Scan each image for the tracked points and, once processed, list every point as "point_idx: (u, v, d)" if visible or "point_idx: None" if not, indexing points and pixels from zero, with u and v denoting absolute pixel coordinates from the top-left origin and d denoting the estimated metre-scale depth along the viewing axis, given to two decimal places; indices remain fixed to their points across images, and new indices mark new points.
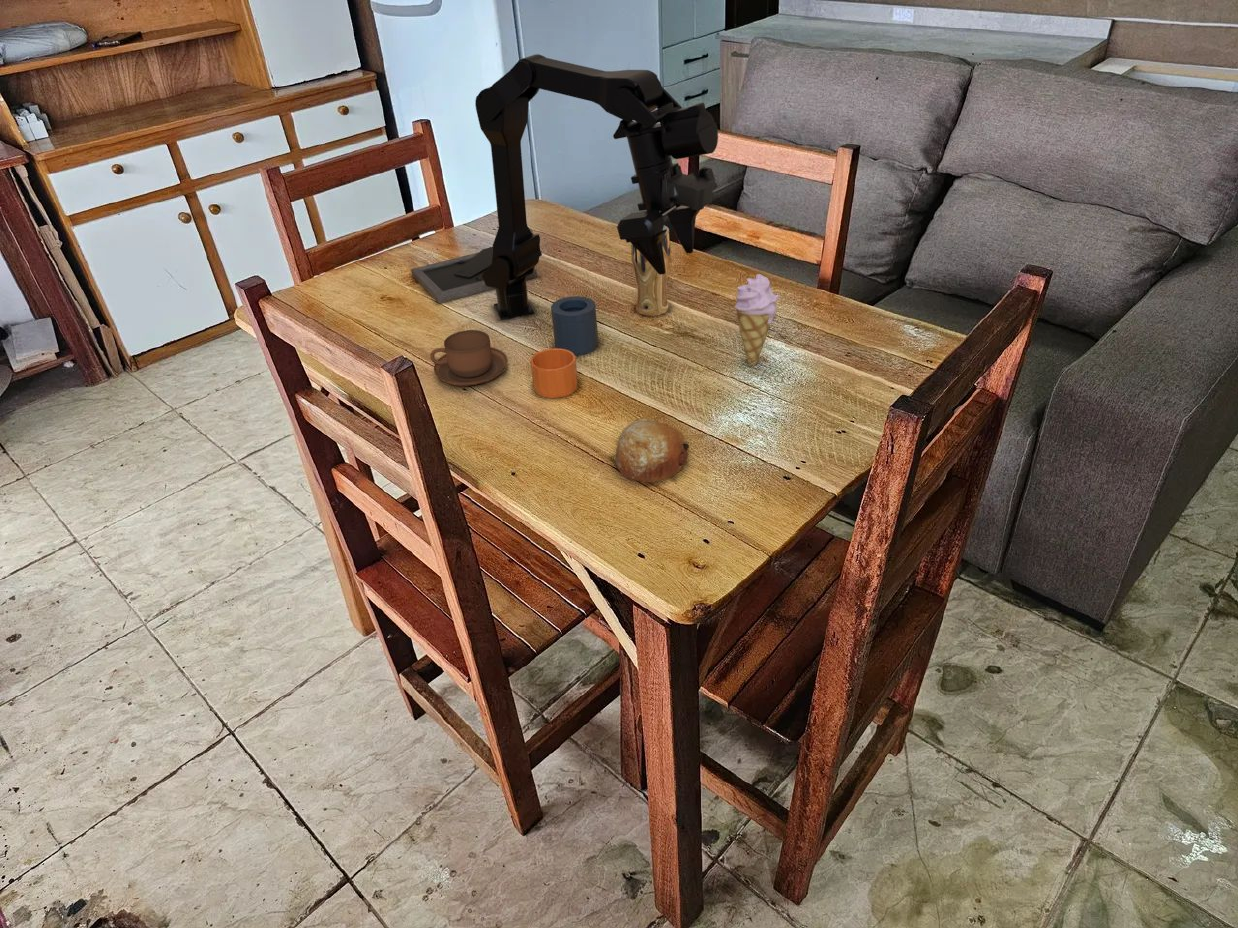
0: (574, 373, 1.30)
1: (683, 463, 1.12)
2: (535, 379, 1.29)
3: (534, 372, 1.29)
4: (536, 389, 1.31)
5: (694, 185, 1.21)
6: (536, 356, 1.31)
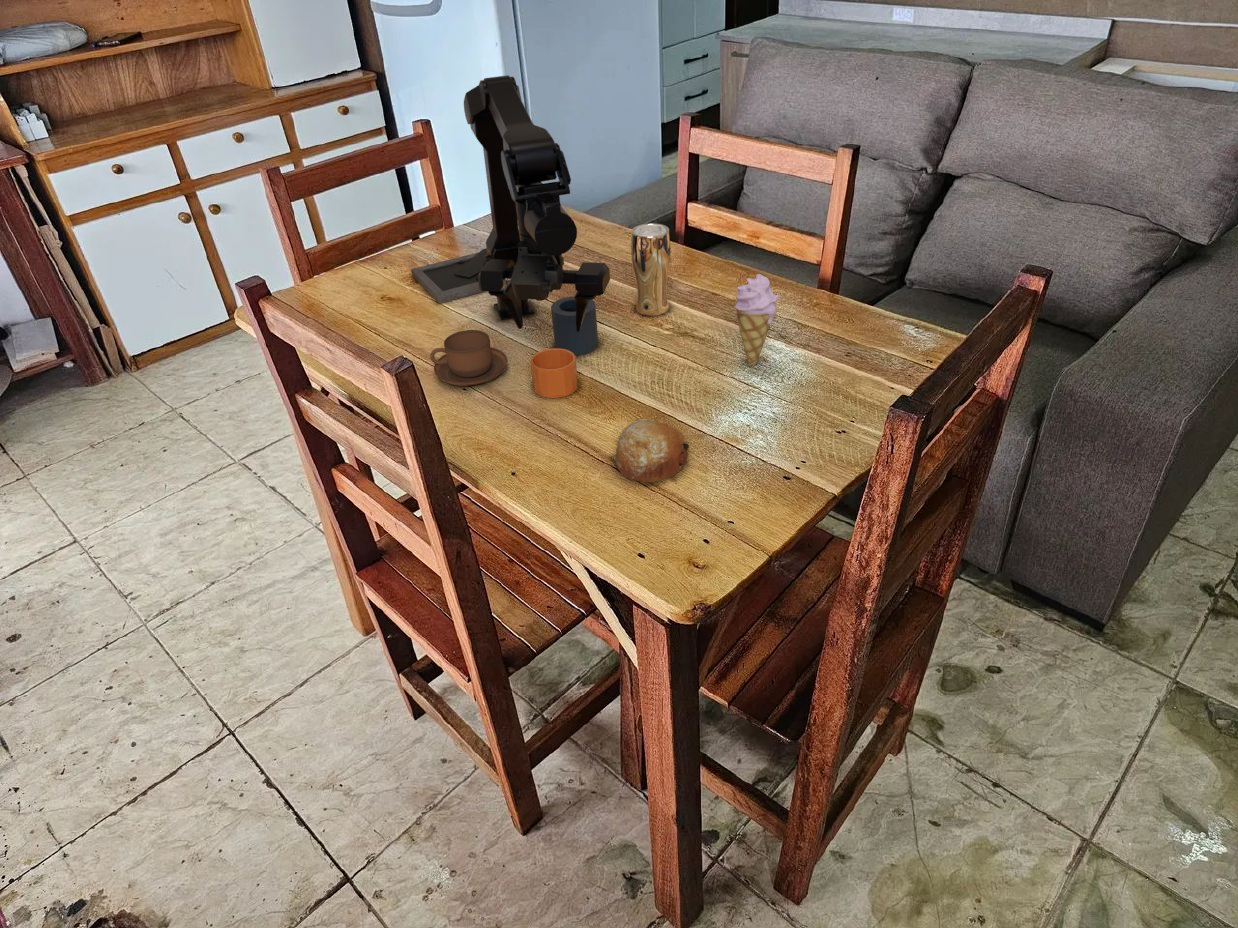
0: (574, 373, 1.30)
1: (683, 463, 1.12)
2: (535, 379, 1.29)
3: (534, 372, 1.29)
4: (536, 389, 1.31)
5: (520, 275, 1.14)
6: (536, 356, 1.31)
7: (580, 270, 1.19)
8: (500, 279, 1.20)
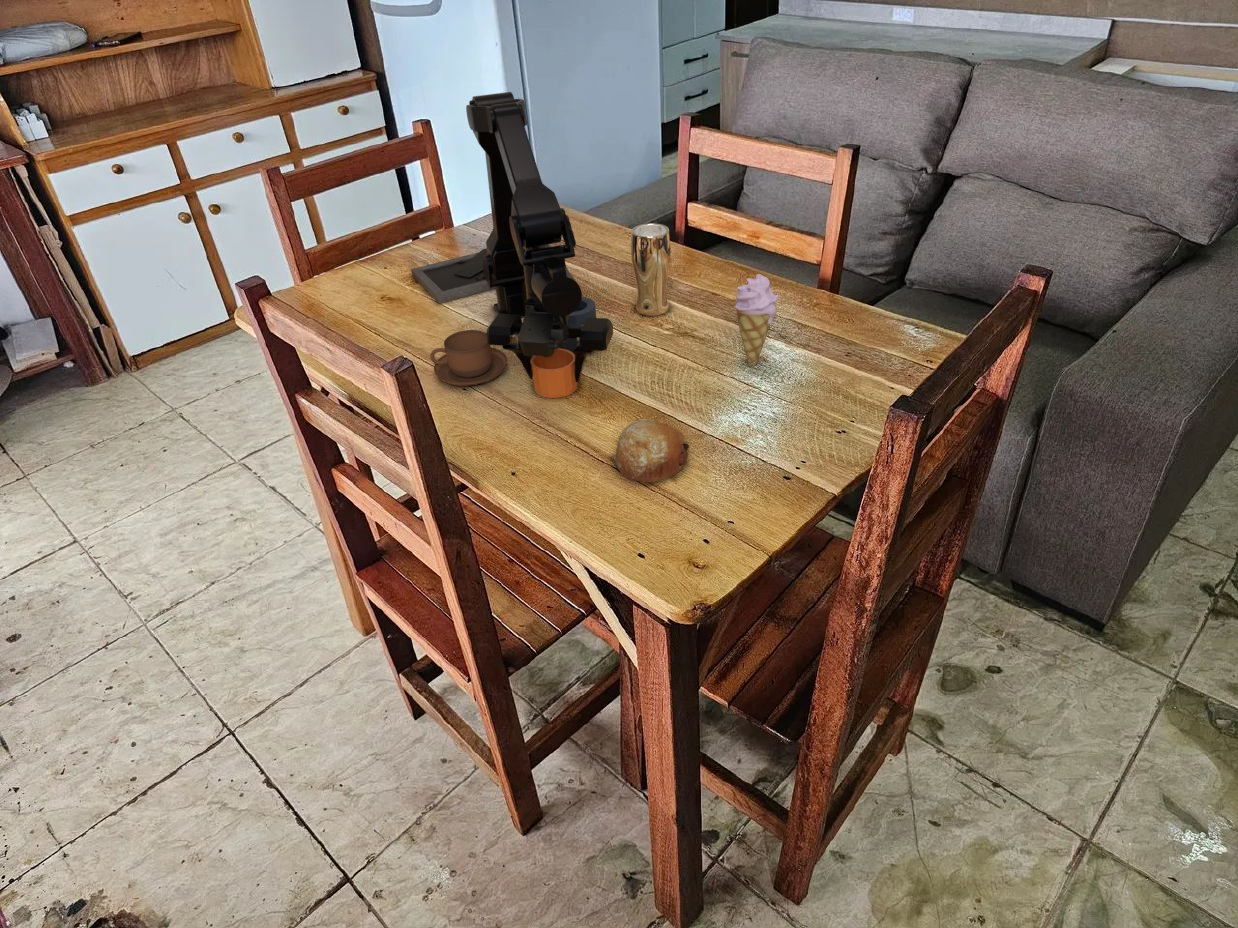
0: (574, 373, 1.30)
1: (683, 463, 1.12)
2: (535, 379, 1.29)
3: (534, 372, 1.29)
4: (536, 389, 1.31)
5: (527, 332, 1.20)
6: (536, 356, 1.31)
7: (584, 326, 1.24)
8: (508, 334, 1.25)
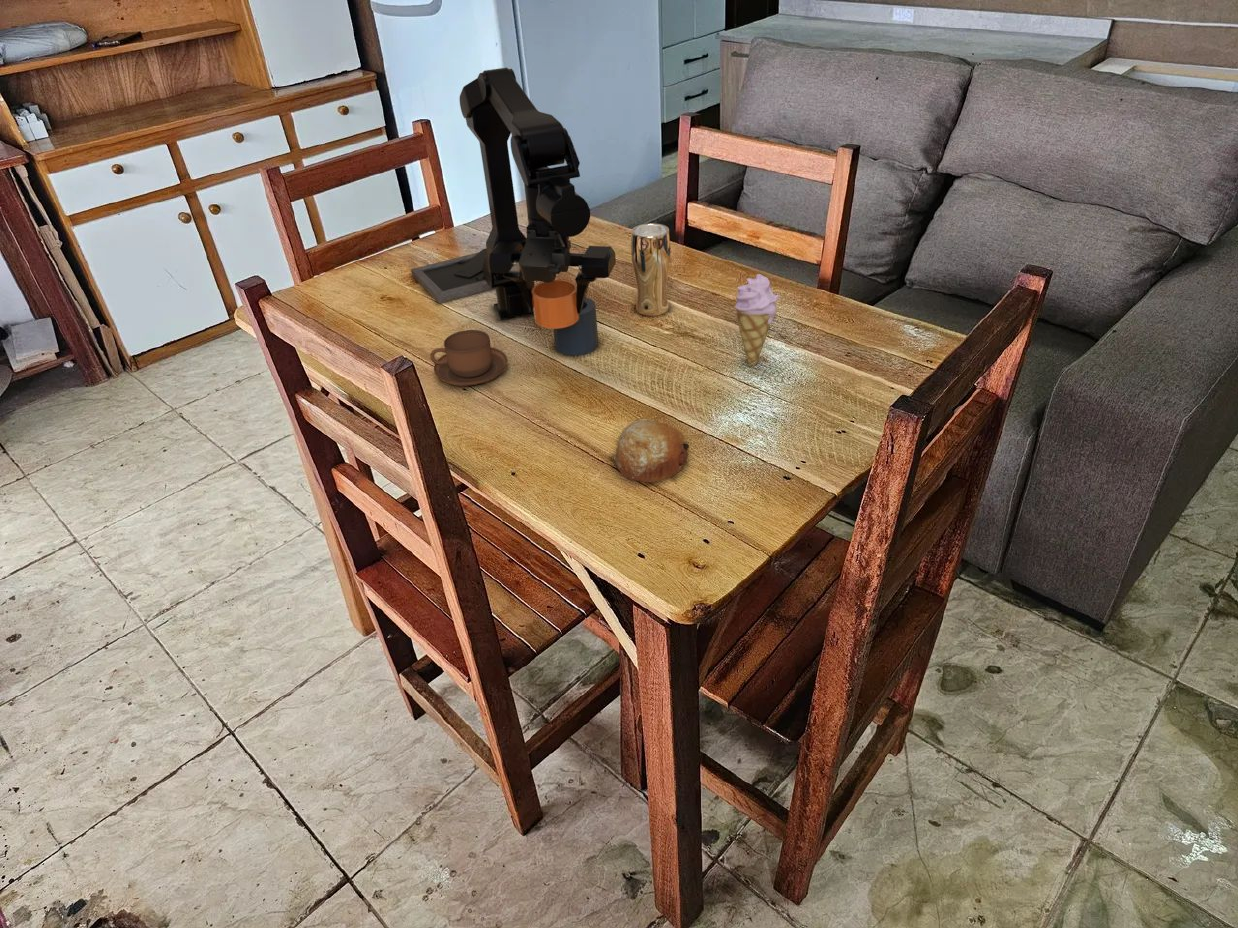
0: None
1: (683, 463, 1.12)
2: (536, 309, 1.28)
3: (535, 302, 1.27)
4: (537, 320, 1.29)
5: (528, 257, 1.18)
6: (537, 287, 1.29)
7: (586, 253, 1.22)
8: (509, 261, 1.23)
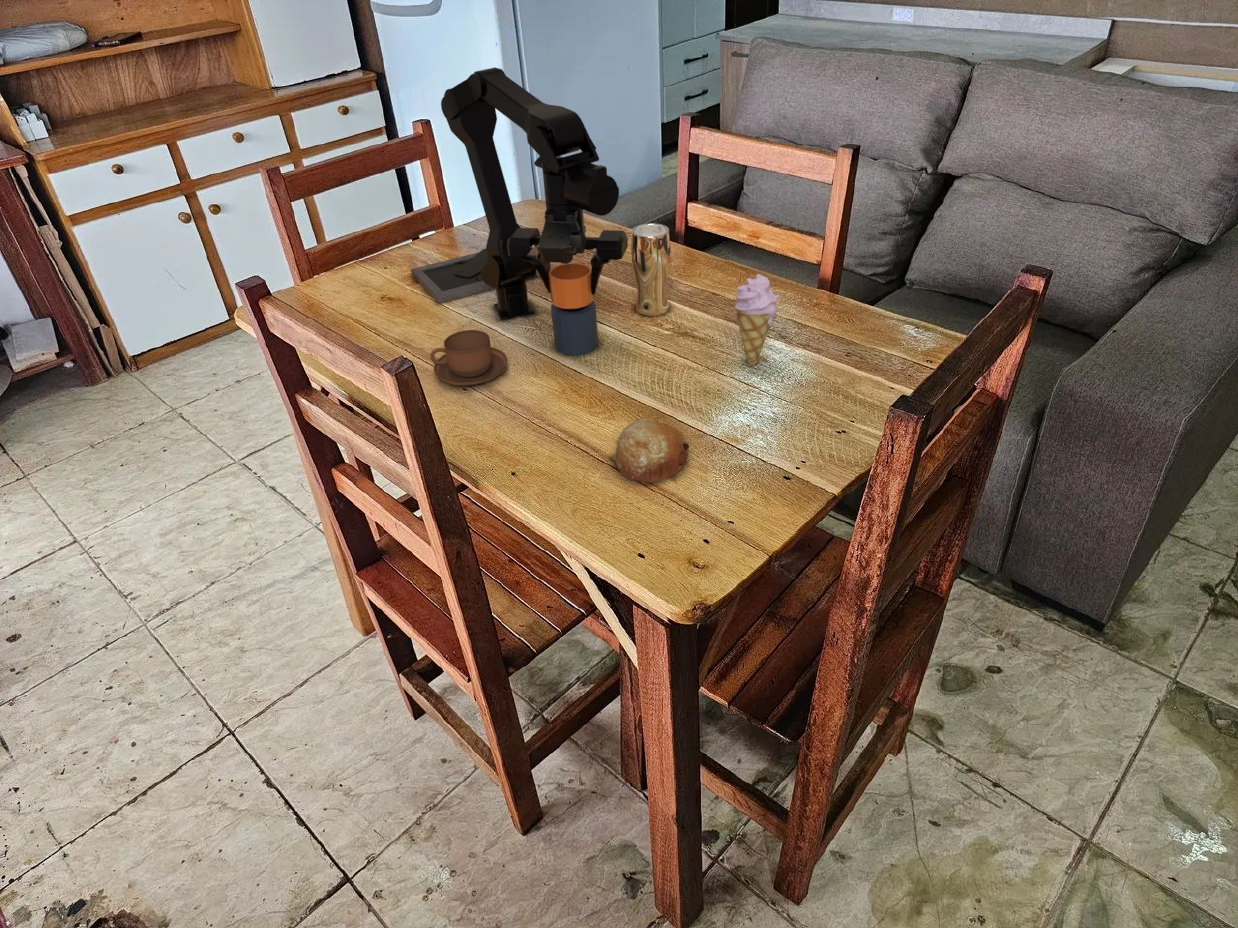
0: (590, 285, 1.36)
1: (683, 463, 1.12)
2: (553, 291, 1.35)
3: (552, 283, 1.35)
4: (554, 301, 1.36)
5: (547, 239, 1.26)
6: (554, 270, 1.37)
7: (601, 237, 1.30)
8: (527, 245, 1.31)
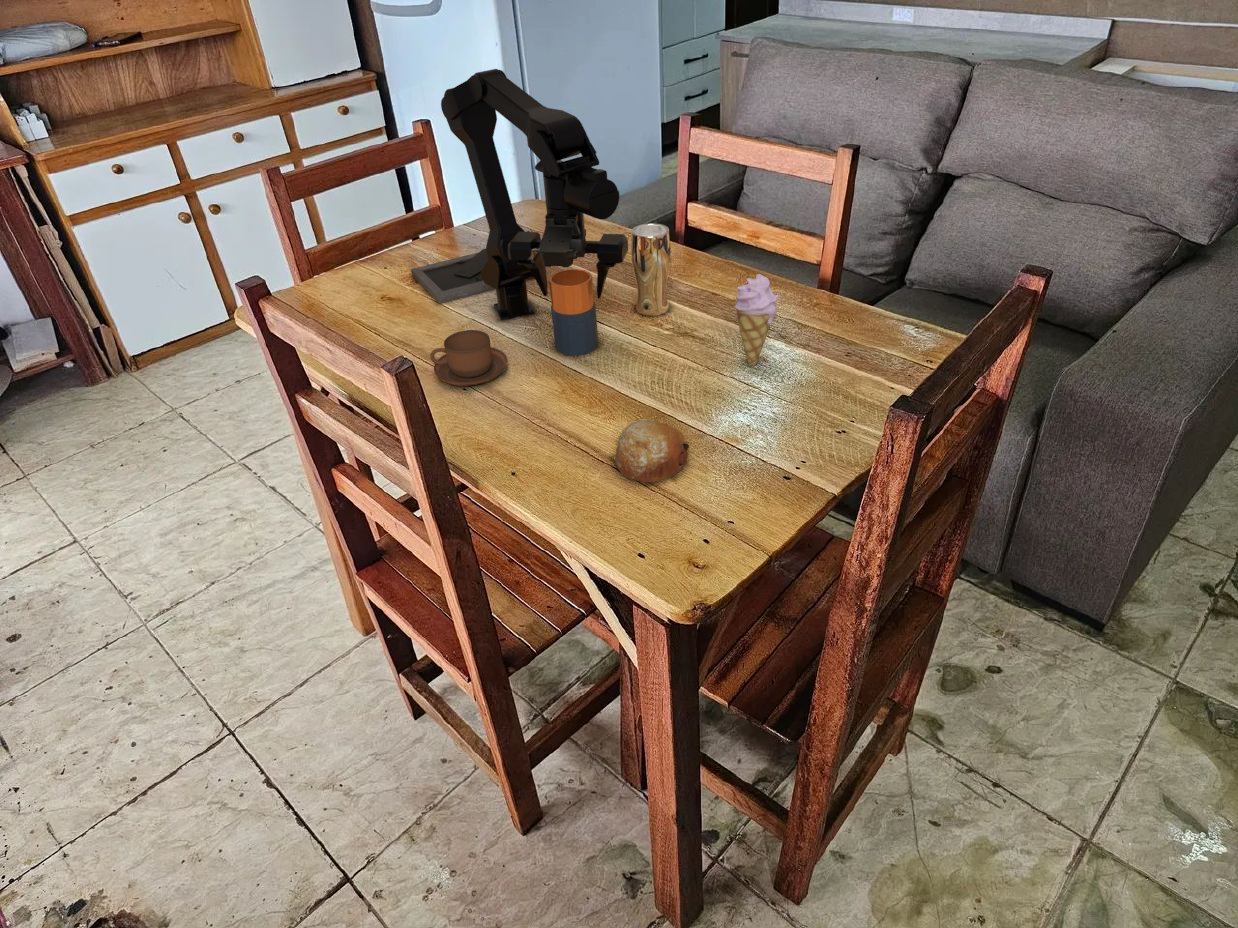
0: (591, 291, 1.36)
1: (683, 463, 1.12)
2: (553, 296, 1.36)
3: (553, 289, 1.35)
4: (554, 307, 1.37)
5: (547, 243, 1.26)
6: (554, 276, 1.38)
7: (601, 240, 1.30)
8: (528, 249, 1.31)
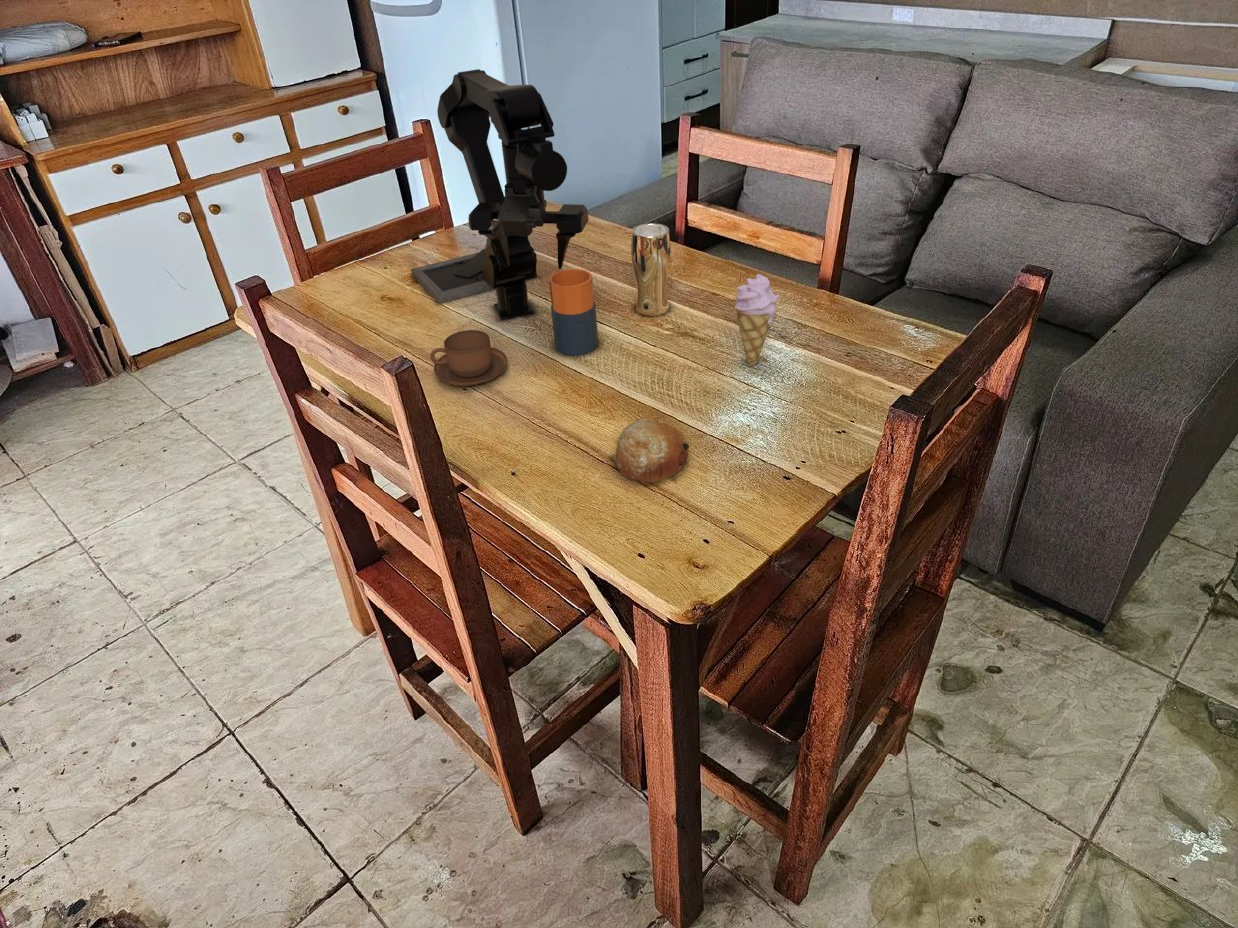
0: (591, 291, 1.36)
1: (683, 463, 1.12)
2: (553, 296, 1.36)
3: (553, 289, 1.35)
4: (554, 307, 1.37)
5: (506, 212, 1.27)
6: (554, 276, 1.38)
7: (561, 210, 1.32)
8: (488, 219, 1.32)
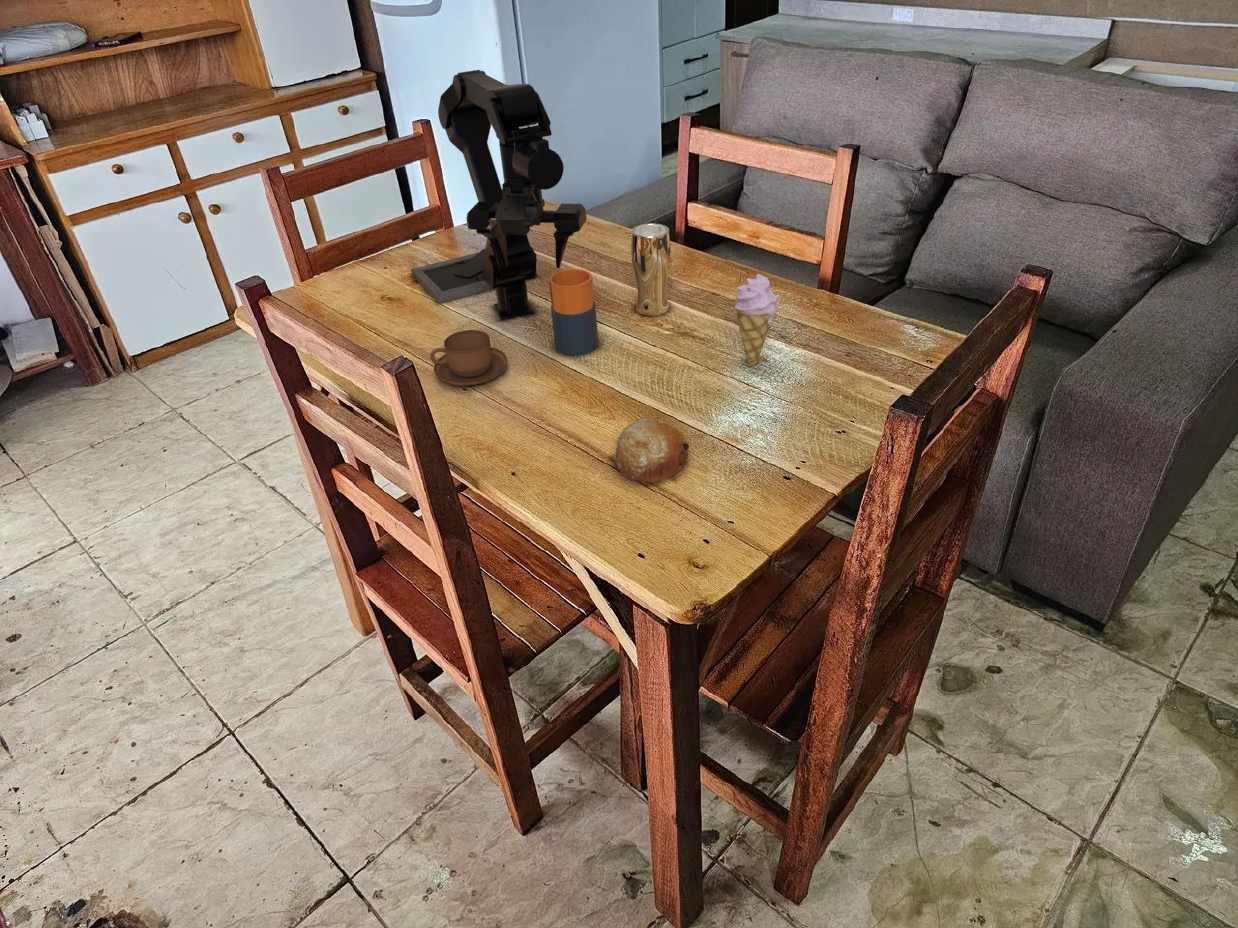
0: (591, 291, 1.36)
1: (683, 463, 1.12)
2: (553, 296, 1.36)
3: (553, 289, 1.35)
4: (554, 307, 1.37)
5: (503, 211, 1.27)
6: (554, 276, 1.38)
7: (558, 209, 1.32)
8: (486, 218, 1.32)
